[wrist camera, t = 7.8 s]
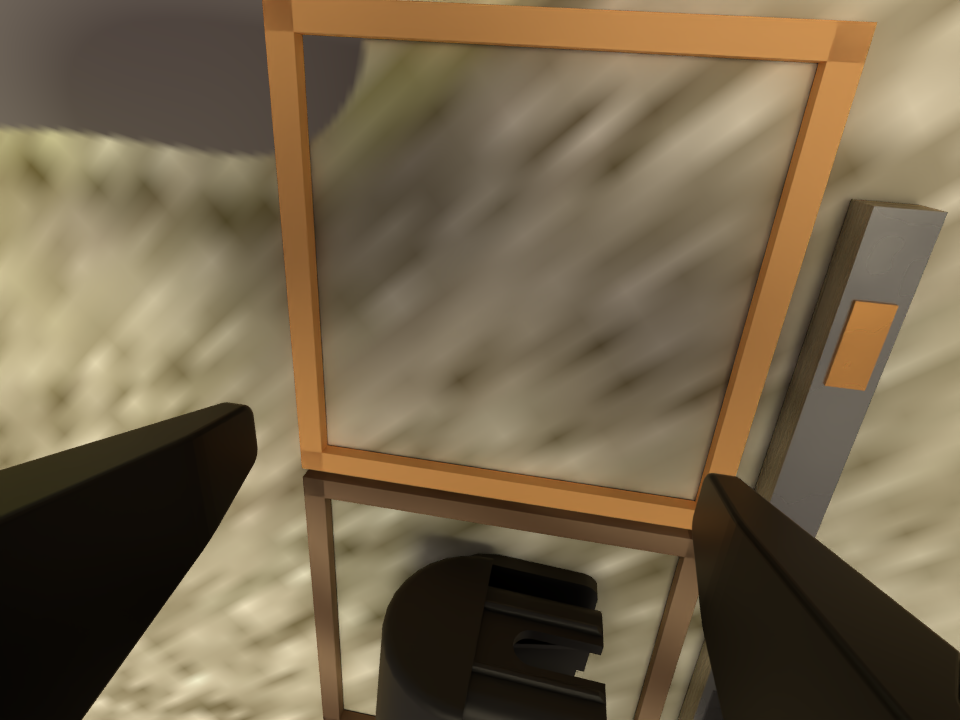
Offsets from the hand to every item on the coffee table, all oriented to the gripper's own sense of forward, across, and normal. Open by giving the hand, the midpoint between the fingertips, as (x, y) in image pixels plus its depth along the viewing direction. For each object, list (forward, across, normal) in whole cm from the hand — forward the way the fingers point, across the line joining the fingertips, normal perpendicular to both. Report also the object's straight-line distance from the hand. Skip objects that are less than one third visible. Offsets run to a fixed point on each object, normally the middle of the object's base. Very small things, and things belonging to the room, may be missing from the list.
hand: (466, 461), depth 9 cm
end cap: (+9, 0, +15) cm, 17 cm away
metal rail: (+9, -9, +8) cm, 15 cm away
